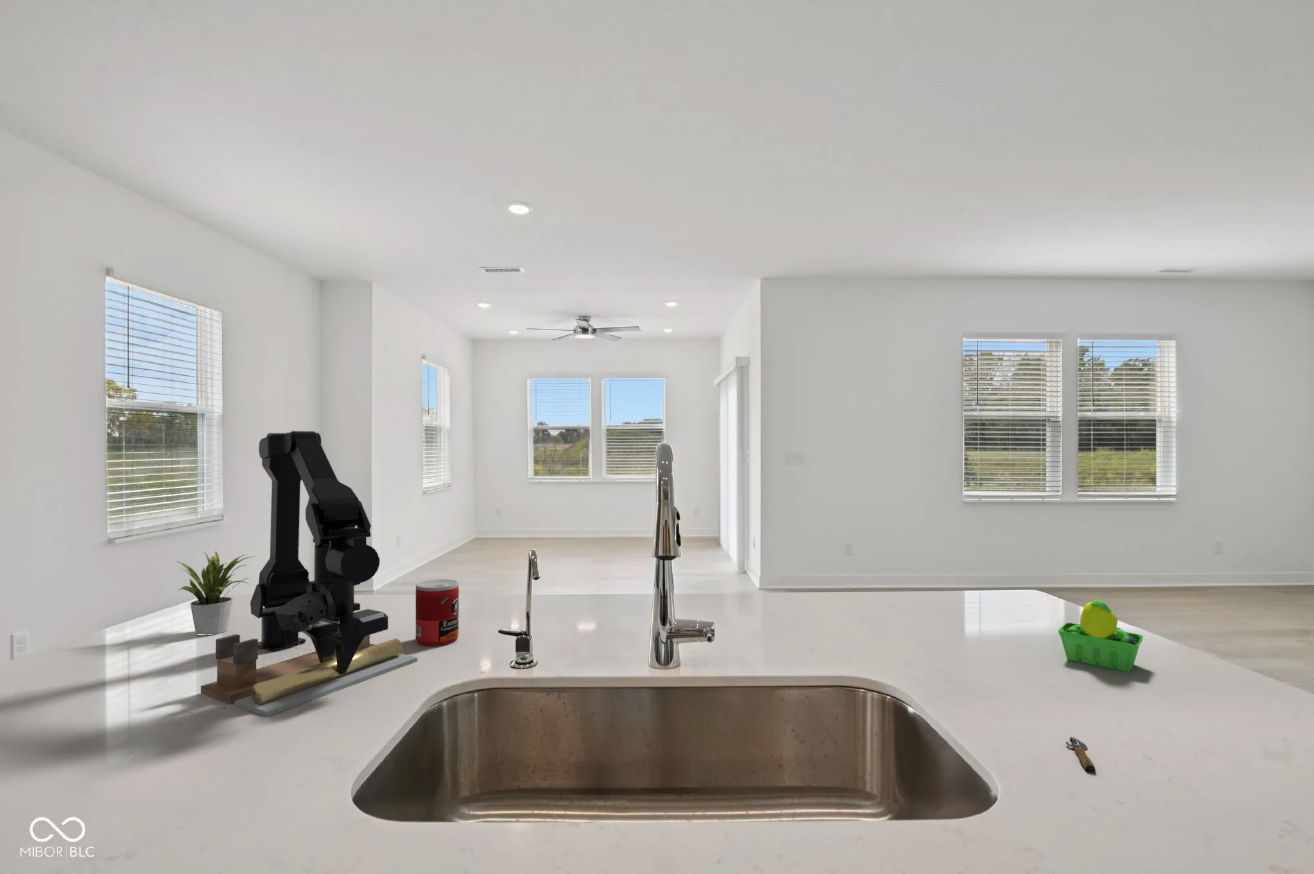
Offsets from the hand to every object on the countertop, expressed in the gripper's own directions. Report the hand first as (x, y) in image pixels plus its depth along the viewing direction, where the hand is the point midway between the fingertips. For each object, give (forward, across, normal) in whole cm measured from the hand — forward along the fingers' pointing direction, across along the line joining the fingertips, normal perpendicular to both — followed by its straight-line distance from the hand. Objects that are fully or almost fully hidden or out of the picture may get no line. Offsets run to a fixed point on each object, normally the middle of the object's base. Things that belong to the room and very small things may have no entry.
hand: (334, 671), depth 104 cm
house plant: (+2, -45, +6) cm, 45 cm away
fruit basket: (+2, +108, +68) cm, 128 cm away
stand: (+2, -9, 0) cm, 9 cm away
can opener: (+2, +102, +27) cm, 106 cm away
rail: (+1, 0, 0) cm, 1 cm away
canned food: (+2, -2, +23) cm, 23 cm away
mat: (+2, 0, 0) cm, 2 cm away
